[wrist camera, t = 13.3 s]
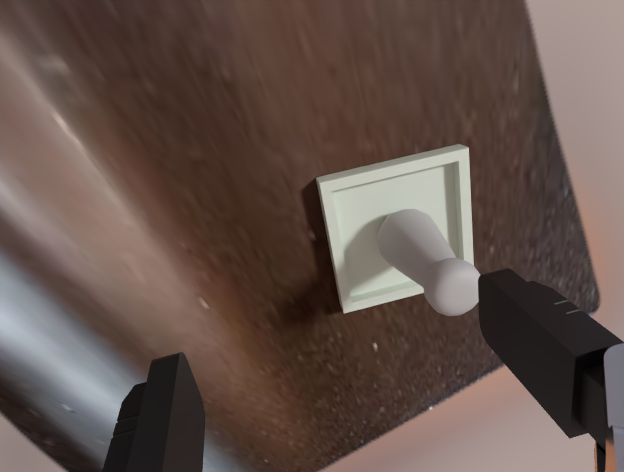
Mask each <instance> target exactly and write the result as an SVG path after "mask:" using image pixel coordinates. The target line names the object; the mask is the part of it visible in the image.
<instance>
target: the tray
mask: <svg viewBox="0 0 624 472" xmlns="http://www.w3.org/2000/svg"><path fill="white" fill-rule="evenodd" d="M316 181H317V187H318V192H319V197H320V202H321V207H322V213H323V218H324V223H325V228H326V234H327V239H328V244H329V249H330V255H331V260H332V265H333V270H334V275H335V281H336V286H337V291H338V296H339V302H340V305H341V308H342V310H343V312H344V313H348V312H352V311H355V310H359V309H363V308H367V307H371V306H375V305H378V304H382V303H386V302H390V301H394V300H397V299H401V298H405V297H409V296H413V295H417V294H420V293H424V288H423V287H422V286H420V285H419V284H417V283H416V282H414V281H413V280H411V279H410V278H409V277H407V276H406V275H404V274H403V273H401V272H400V271H398V270H397V269H395V268H394V267H393V266H391V265H390V264H388V263H387V262H386V260H385V259H384V258H383V257H382V255H381V254H380V251H379V247H378V242H377V237H378V232H379V229H380V227H381V225H382V224H383V222H384V220H385V218H386V216H387V215H388V214H391V213H394V212H397V211H400V210H405V209H416V210H419V211H421V212H423V213H426V214H428V215H429V216H430V217H431V218H432V220H433V221H434V222H435V224H436V225H437V227H438V228H439V230H440V232H441V233H442V235H443V236H444V238H445V240H446V241H447V243H448V245H449V246H450V248H451V249H452V251H453V253H454V254H455V256H456V258H460V259H462V260H464V261H467V262H469V263H470V264H472V265H473V266H474V261H473V238H472V214H471V191H470V168H469V148H468V147H465V146H463V145H461V144H457V145H453V146H448V147H444V148H440V149H436V150H431V151H427V152H423V153H419V154H414V155H410V156H406V157H402V158H397V159H393V160H389V161H384V162H380V163H376V164H372V165H367V166H363V167H359V168H355V169H350V170H346V171H342V172H338V173H333V174H329V175H325V176H321V177H316Z"/></svg>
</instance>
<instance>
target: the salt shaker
mask: <svg viewBox="0 0 624 472" xmlns="http://www.w3.org/2000/svg"><path fill="white" fill-rule="evenodd" d="M377 242H378V247H379V251H380V254H381V255H382V257H383V258H384V259H385V260H386V262H387V263H388V264H390V265H391V266H393V267H394V268H395V269H397V270H398V271H400V272H401V273H403V274H404V275H406V276H407V277H409V278H410V279H411V280H413V281H414V282H416V283H417V284H419V285H420V286H422V287H423V288H424V294H425V298H426V299H427V301H428V302H429V303H430V305H431V306H432V307H433V308H434V309H435V310H436V311H437V312H439V313H441V314H444V315H447V316H456V315H461V314H463V313H465V312H467V311H469V310H471V309H472V308H473V307H474V306H475V305H476V304H477V303H478V302H479V299H478V279H479V276H480V274H479V272H478V271H477V270H476V269H475V267H474V266H473V265H472V264H470V263H469V262H467V261H464V260H462V259H460V258H456V256H455V254H454V253H453V251H452V249H451V248H450V246H449V245H448V243H447V241H446V240H445V238H444V236H443V235H442V233H441V232H440V230H439V228H438V227H437V225H436V224H435V222H434V221H433V220H432V218H431V217H430V216H429V215H428V214H426V213H423V212H421V211H419V210H416V209H405V210H400V211H397V212H394V213H391V214H388V215H387V216H386V218H385V220H384V222H383V224H382V225H381V227H380V229H379V232H378V237H377Z"/></svg>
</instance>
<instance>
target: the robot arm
mask: <svg viewBox="0 0 624 472" xmlns="http://www.w3.org/2000/svg"><path fill="white" fill-rule="evenodd" d="M478 299H479V322H480V328H481V331H482V334H483V337H484V339H485V340H486V342H487V344H488V345H489V346H490V347H491V348H492V350H493V351H494V352H495V353H496V354H497V355H498V357H499V358H500V359H501V360H502V361H503V362H504V363H505V365H506V366H507V367H508V368H509V369H510V370H511V372H512V373H513V374H514V375H515V376H516V377H517V378H518V380H519V381H520V382H521V383H522V384H523V385H524V387H525V388H526V389H527V390H528V391H529V392H530V393H531V395H532V396H533V397H534V398H535V399H536V400H537V401H538V403H539V404H540V405H541V406H542V407H543V408H544V410H545V411H546V412H547V413H548V414H549V415H550V417H551V418H552V419H553V420H554V421H555V422H556V423H557V425H558V426H559V427H560V428H561V429H562V430H563V431H564V433H565V434H566V435H567V436H568V437H569V438H573V437H576V436H579V435H583V434H586V433H589V434H590V435H591V436H592V437H593V438H594V439H595V448H594V459H595V472H624V342H623V341H622V340H620V339H619V338H618V337H616V336H615V335H614V334H612V333H611V332H610V331H608V330H607V329H606V328H604V327H603V326H602V325H600V324H599V323H598V322H597V321H595V320H594V319H593V318H591V317H590V316H589V315H587V314H586V313H585V312H583V311H580V310H579V308H578V307H577V306H575V305H574V304H573V303H571V302H568V301H567V299H566V298H565V297H563V296H562V295H561V294H559V293H558V292H557V291H555V290H554V289H553V288H550V287H548V286H545V285H542V284H540V283H537V282H535V281H530V282H526V281H525V280H524V279H523V278H521V277H520V276H519V275H518V274H516V273H515V272H514V271H513V270H511V269H509V268H506V269H502V270H498V271H494V272H490V273H486V274H483V275H480V276H479V279H478ZM117 421H118V423H116V425H115V429H114V432H113V438H112V439H111V443H110V446H109V450H108V453H107V457H106V460H105V464H104V467H103V471H102V472H202V469H203V451H204V433H205V412H204V406H203V401H202V398H201V395H200V392H199V390H198V387H197V384H196V382H195V379H194V377H193V374H192V371H191V369H190V366H189V364H188V361H187V358H186V356H185V355H184V353H183V352H180V353H177V354H173V355H169V356H165V357H161V358H157V359H154V360H152V362H151V365H150V370H149V374H148V378H147V382H145V383H141V384H137V385H135V386H134V387H133V388H132V390H131V391H130V392H129V394H128V395H127V396H126V398H125V399H124V401H123V402H122V405H121V408H120V412H119V415H118V419H117Z"/></svg>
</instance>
